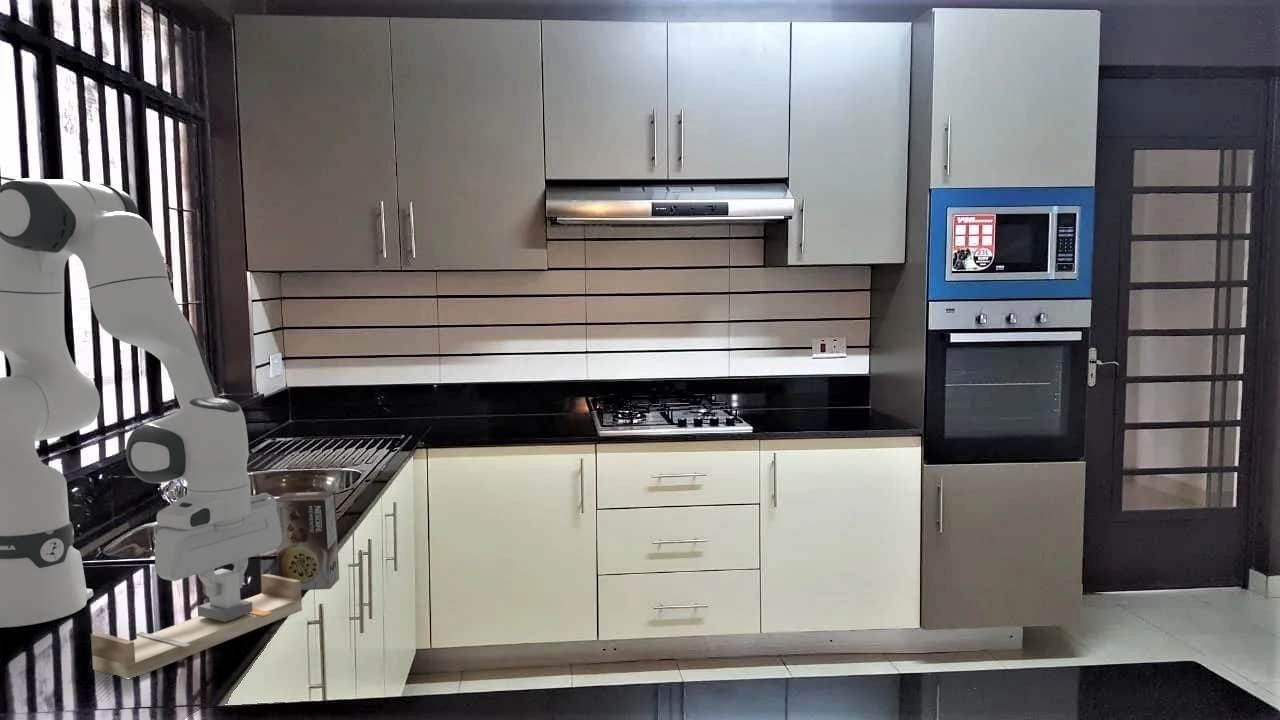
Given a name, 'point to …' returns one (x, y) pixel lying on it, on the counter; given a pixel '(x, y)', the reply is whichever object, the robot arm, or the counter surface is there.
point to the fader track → (194, 632)
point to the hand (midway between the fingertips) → (224, 592)
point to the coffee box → (308, 539)
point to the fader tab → (226, 598)
